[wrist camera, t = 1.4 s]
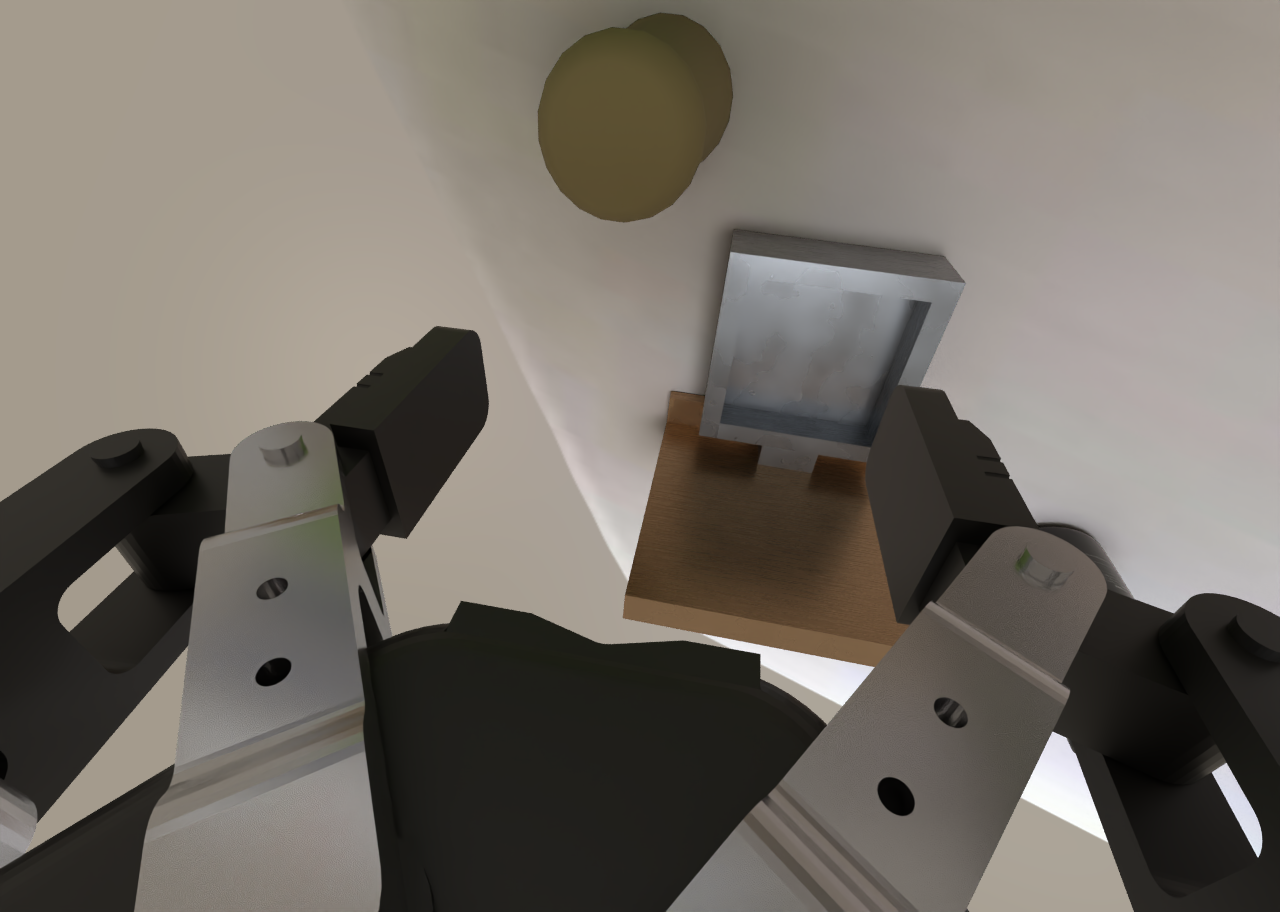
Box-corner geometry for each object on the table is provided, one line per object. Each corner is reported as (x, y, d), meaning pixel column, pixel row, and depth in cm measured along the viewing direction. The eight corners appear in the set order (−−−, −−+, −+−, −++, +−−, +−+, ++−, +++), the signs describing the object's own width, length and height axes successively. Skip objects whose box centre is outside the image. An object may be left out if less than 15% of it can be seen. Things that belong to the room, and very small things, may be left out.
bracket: (693, 224, 28) (647, 355, 17) (988, 262, 26) (1148, 431, 15) (663, 456, 37) (620, 640, 26) (882, 492, 35) (935, 702, 24)
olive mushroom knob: (585, 153, 27) (500, 216, 18) (611, -8, 23) (520, -26, 14) (707, 192, 27) (681, 272, 18) (753, 38, 23) (748, 47, 14)
